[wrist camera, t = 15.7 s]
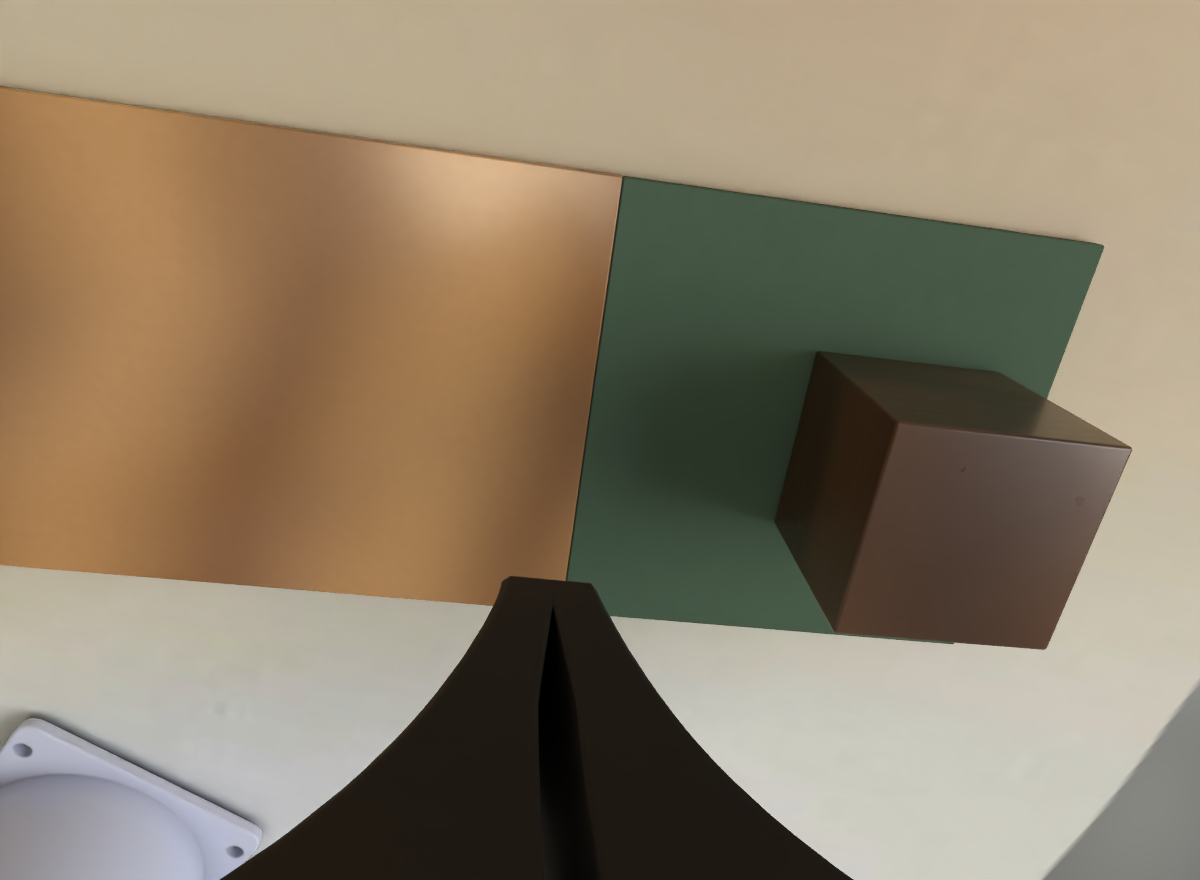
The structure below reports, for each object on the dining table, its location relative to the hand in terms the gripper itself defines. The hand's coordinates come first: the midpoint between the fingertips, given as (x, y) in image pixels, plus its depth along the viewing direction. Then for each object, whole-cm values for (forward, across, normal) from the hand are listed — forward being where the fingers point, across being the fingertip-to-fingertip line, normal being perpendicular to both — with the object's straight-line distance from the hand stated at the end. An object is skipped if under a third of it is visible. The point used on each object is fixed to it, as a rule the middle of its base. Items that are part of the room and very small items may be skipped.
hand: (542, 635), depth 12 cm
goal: (+9, -7, 0) cm, 12 cm away
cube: (+9, -9, 0) cm, 13 cm away
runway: (+9, +15, 0) cm, 18 cm away
